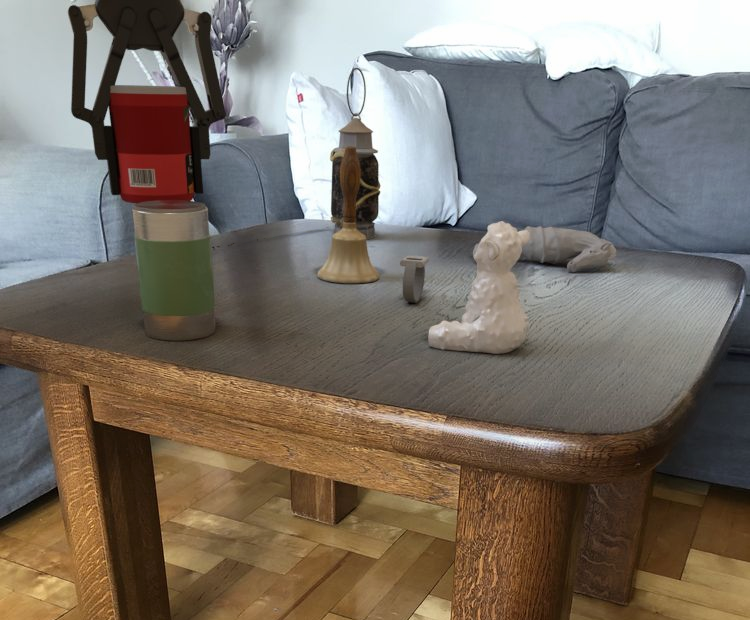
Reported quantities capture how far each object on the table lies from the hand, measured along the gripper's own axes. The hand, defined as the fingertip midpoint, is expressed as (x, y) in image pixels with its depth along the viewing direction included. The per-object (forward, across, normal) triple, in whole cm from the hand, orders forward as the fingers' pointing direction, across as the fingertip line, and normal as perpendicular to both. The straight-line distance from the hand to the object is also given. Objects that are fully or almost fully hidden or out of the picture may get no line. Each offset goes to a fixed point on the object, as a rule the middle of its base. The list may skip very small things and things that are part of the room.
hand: (157, 192), depth 88 cm
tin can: (+12, 0, -12) cm, 17 cm away
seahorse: (+12, +55, +10) cm, 57 cm away
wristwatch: (+12, +28, -6) cm, 31 cm away
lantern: (+12, +35, +38) cm, 53 cm away
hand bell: (+12, +25, +9) cm, 29 cm away
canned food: (+1, 0, 0) cm, 1 cm away
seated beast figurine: (+12, +28, -24) cm, 39 cm away
